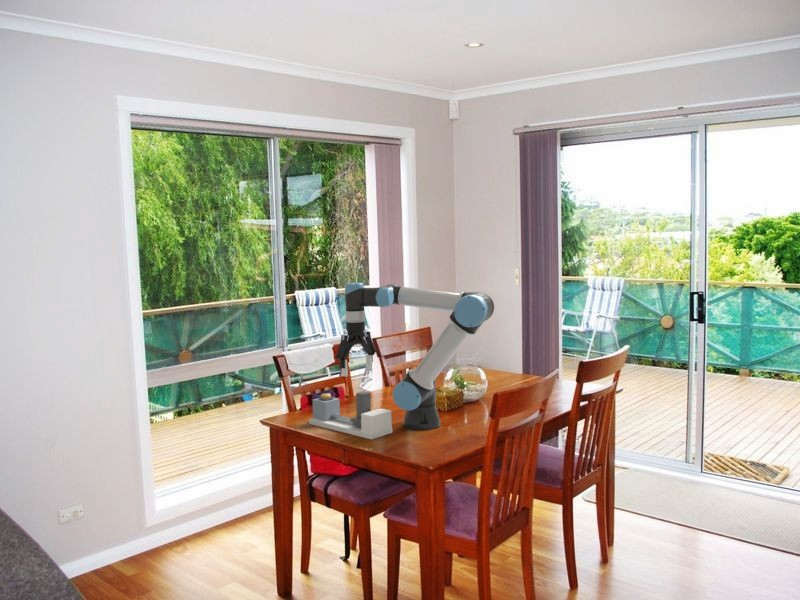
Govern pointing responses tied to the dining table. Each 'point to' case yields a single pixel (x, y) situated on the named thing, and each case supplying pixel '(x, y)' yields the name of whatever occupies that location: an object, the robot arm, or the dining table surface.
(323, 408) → the gauge cabinet
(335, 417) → the rail bar
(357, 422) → the carriage
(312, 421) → the rail track
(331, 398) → the button
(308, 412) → the dining table surface
